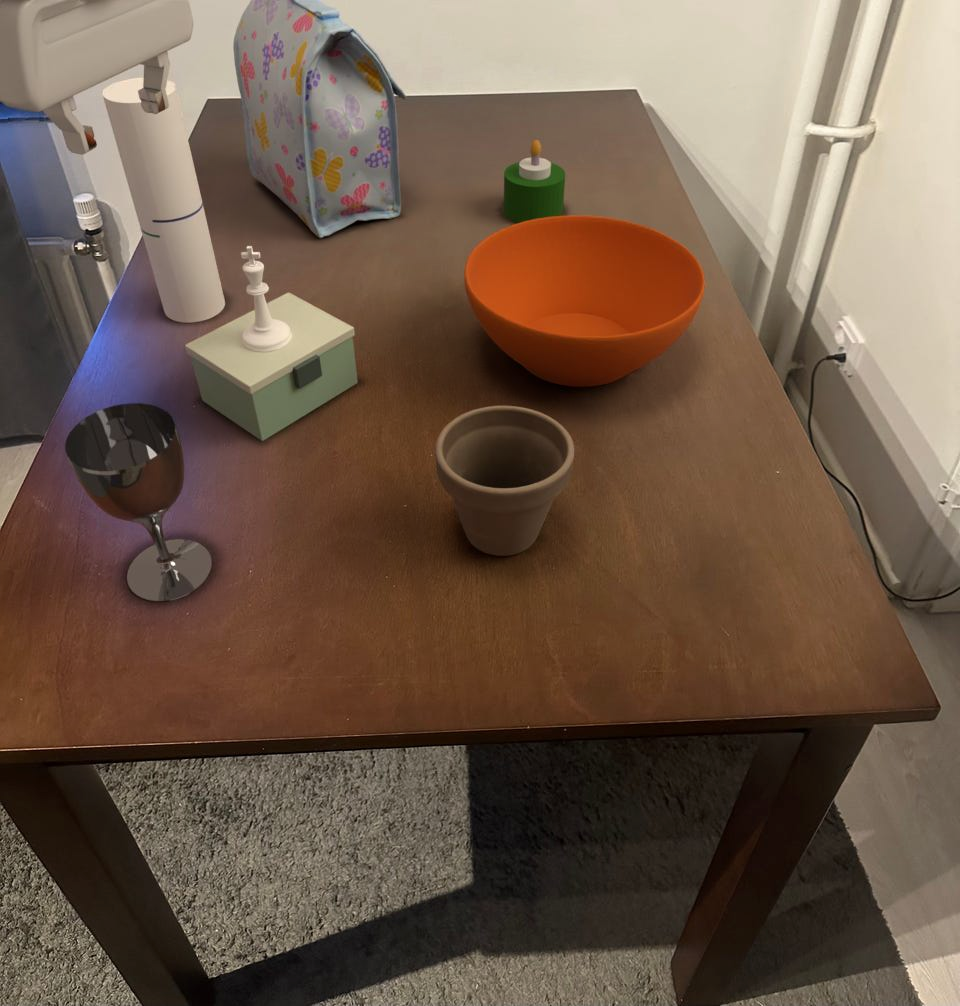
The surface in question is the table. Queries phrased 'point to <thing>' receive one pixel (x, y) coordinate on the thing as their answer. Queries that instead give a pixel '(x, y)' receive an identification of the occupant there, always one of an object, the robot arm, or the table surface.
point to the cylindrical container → (166, 201)
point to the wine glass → (140, 491)
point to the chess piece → (261, 311)
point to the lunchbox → (275, 367)
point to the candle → (533, 188)
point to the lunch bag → (317, 114)
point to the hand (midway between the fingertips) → (121, 129)
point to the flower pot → (503, 473)
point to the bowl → (583, 295)
